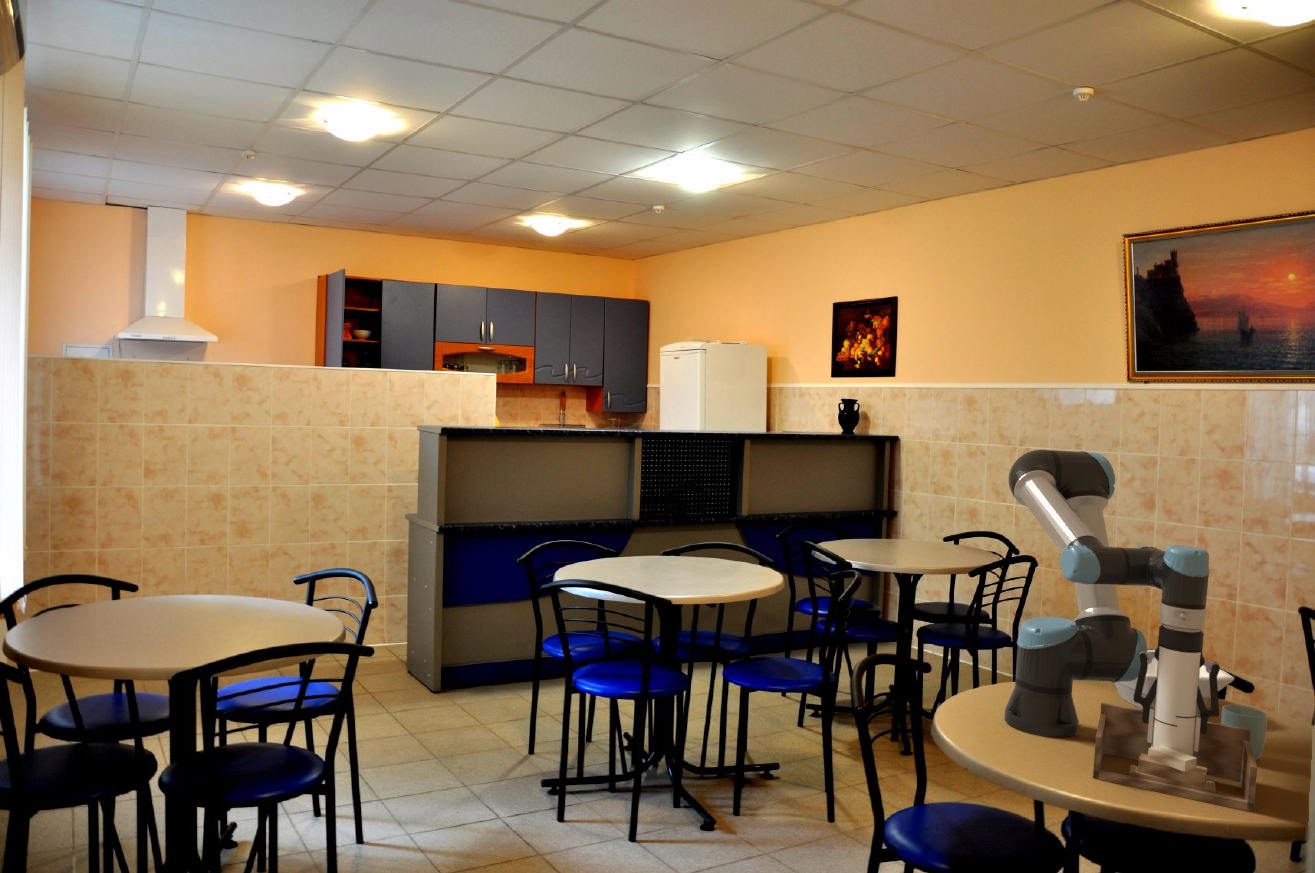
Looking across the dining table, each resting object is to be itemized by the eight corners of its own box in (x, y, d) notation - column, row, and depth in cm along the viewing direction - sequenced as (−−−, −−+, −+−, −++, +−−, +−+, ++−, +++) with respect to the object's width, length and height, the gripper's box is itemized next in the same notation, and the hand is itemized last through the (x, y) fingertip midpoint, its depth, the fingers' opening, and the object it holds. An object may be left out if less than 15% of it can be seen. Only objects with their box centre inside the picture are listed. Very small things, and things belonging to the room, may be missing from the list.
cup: (1209, 753, 198) (1213, 705, 197) (1235, 749, 201) (1239, 702, 200) (1246, 767, 190) (1250, 718, 190) (1271, 763, 193) (1275, 715, 193)
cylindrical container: (1196, 785, 180) (1207, 654, 178) (1155, 780, 181) (1165, 650, 180) (1183, 771, 187) (1193, 645, 185) (1144, 766, 188) (1154, 641, 187)
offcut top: (1147, 758, 180) (1148, 747, 180) (1159, 755, 182) (1160, 744, 182) (1184, 771, 174) (1185, 760, 174) (1196, 768, 176) (1196, 757, 176)
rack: (1092, 777, 181) (1096, 725, 180) (1097, 750, 196) (1101, 702, 195) (1253, 812, 169) (1258, 756, 168) (1245, 780, 184) (1250, 729, 183)
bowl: (1081, 687, 241) (1084, 647, 240) (1174, 689, 243) (1177, 650, 243) (1140, 720, 216) (1143, 676, 216) (1242, 722, 219) (1245, 678, 219)
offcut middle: (1137, 771, 180) (1138, 758, 180) (1140, 765, 183) (1141, 752, 183) (1204, 787, 174) (1205, 774, 174) (1206, 780, 177) (1207, 767, 177)
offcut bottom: (1129, 784, 180) (1130, 771, 180) (1129, 777, 183) (1130, 764, 183) (1214, 802, 173) (1215, 789, 173) (1213, 794, 177) (1214, 781, 177)
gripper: (1122, 622, 184) (1114, 739, 185) (1244, 640, 175) (1234, 762, 176) (1124, 615, 191) (1115, 728, 192) (1241, 632, 181) (1231, 750, 182)
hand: (1172, 744), depth 184 cm, fingers closed on cylindrical container, 7 cm apart
